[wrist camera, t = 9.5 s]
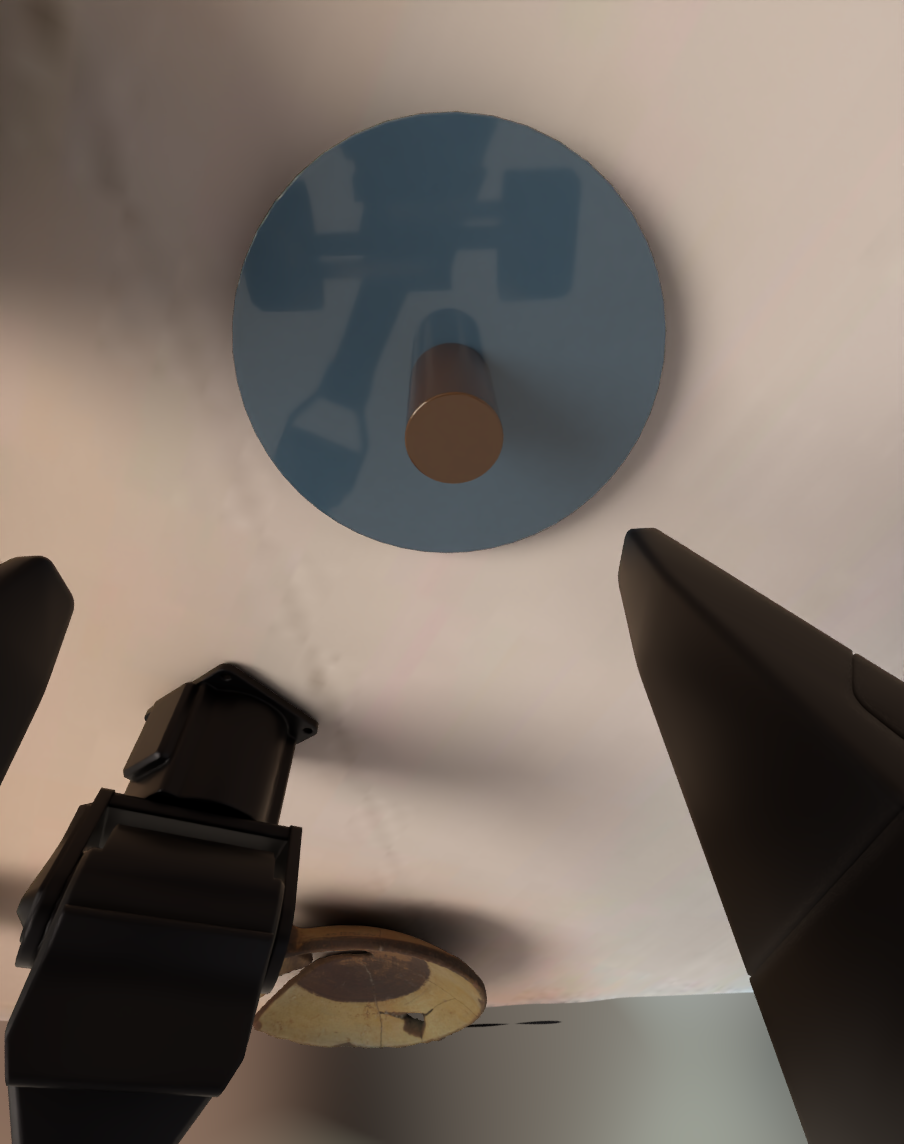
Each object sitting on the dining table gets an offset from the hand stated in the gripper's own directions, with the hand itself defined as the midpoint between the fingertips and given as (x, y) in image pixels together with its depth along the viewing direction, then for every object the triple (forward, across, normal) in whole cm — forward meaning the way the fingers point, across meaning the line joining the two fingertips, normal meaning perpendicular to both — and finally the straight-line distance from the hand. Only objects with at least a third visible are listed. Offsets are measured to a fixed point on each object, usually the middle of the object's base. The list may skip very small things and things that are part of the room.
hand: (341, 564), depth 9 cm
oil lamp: (+12, +8, +50) cm, 52 cm away
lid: (+11, -2, +1) cm, 11 cm away
